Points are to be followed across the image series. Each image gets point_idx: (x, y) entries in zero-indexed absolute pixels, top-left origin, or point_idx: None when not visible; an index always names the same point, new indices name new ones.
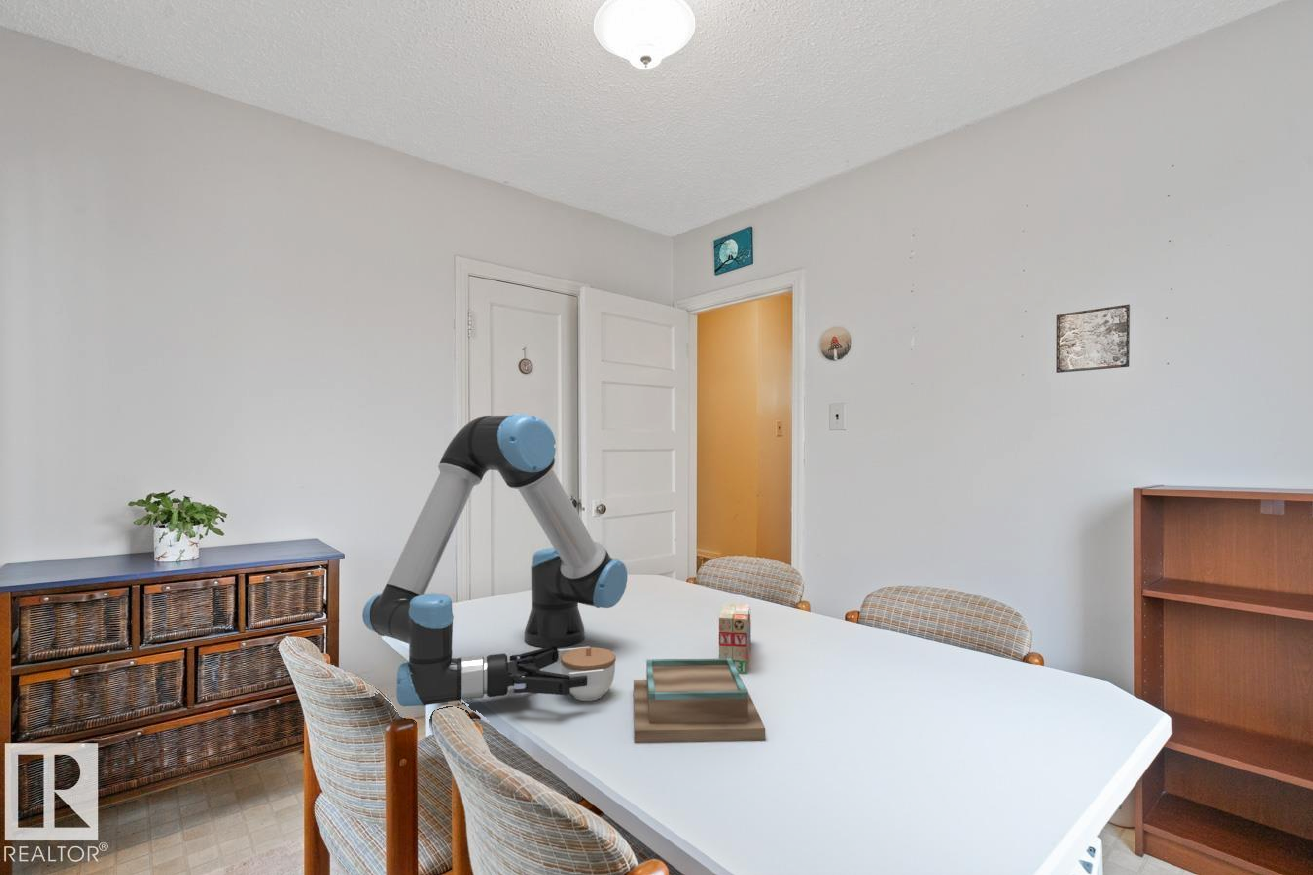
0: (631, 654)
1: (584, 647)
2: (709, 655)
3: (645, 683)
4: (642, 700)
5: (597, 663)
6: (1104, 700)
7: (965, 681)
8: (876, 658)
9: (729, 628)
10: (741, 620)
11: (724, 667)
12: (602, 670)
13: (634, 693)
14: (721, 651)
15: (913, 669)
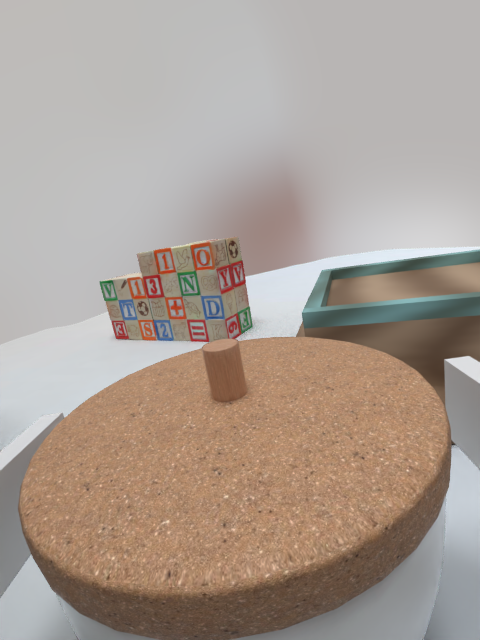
0: (13, 433)
1: (32, 432)
2: (151, 349)
3: None
4: None
5: (391, 362)
6: (362, 254)
7: (321, 270)
8: (253, 287)
9: (225, 259)
10: (233, 240)
11: (344, 279)
12: (471, 360)
13: None
14: (225, 304)
15: (288, 279)
